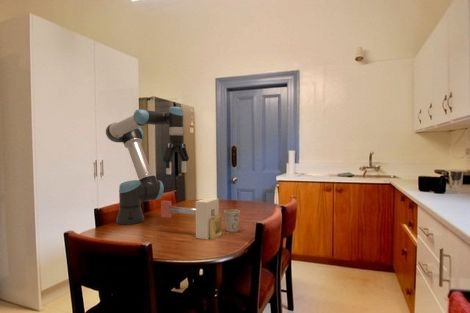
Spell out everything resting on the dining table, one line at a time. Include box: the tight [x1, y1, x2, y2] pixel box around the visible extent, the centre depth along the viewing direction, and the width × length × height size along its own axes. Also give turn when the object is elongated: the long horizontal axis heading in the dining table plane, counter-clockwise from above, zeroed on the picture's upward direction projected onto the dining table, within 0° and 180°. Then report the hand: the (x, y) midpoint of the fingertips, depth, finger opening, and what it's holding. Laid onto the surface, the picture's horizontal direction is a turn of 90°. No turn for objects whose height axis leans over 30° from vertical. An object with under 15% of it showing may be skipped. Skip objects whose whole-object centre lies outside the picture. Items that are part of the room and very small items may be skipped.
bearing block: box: [195, 197, 220, 240], centre depth 141 cm, size 6×12×17 cm, turn 157°
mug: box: [223, 208, 241, 233], centre depth 152 cm, size 8×13×10 cm, turn 27°
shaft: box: [160, 200, 196, 218], centre depth 146 cm, size 27×3×8 cm, turn 67°
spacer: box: [209, 215, 223, 240], centre depth 139 cm, size 2×9×9 cm, turn 157°
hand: (176, 173), depth 164 cm, fingers open, 13 cm apart
